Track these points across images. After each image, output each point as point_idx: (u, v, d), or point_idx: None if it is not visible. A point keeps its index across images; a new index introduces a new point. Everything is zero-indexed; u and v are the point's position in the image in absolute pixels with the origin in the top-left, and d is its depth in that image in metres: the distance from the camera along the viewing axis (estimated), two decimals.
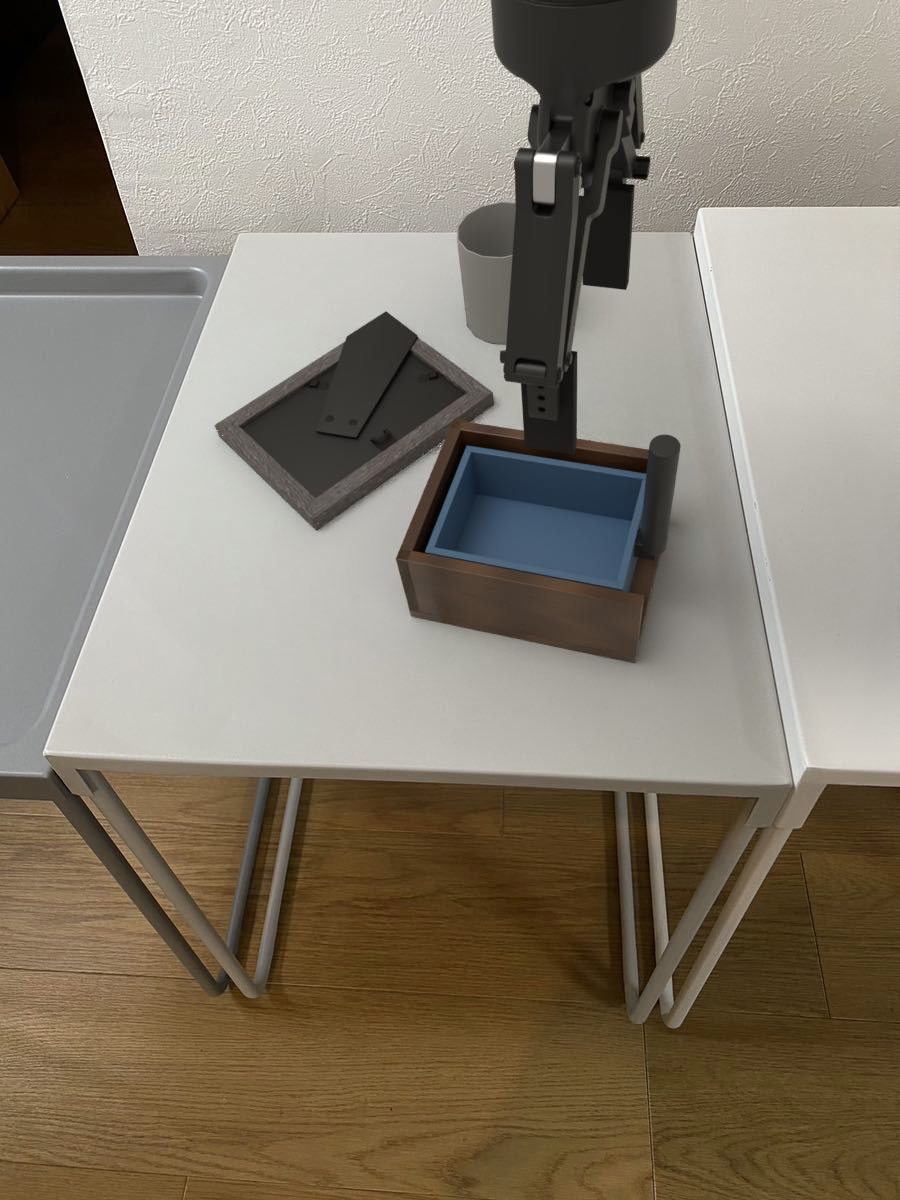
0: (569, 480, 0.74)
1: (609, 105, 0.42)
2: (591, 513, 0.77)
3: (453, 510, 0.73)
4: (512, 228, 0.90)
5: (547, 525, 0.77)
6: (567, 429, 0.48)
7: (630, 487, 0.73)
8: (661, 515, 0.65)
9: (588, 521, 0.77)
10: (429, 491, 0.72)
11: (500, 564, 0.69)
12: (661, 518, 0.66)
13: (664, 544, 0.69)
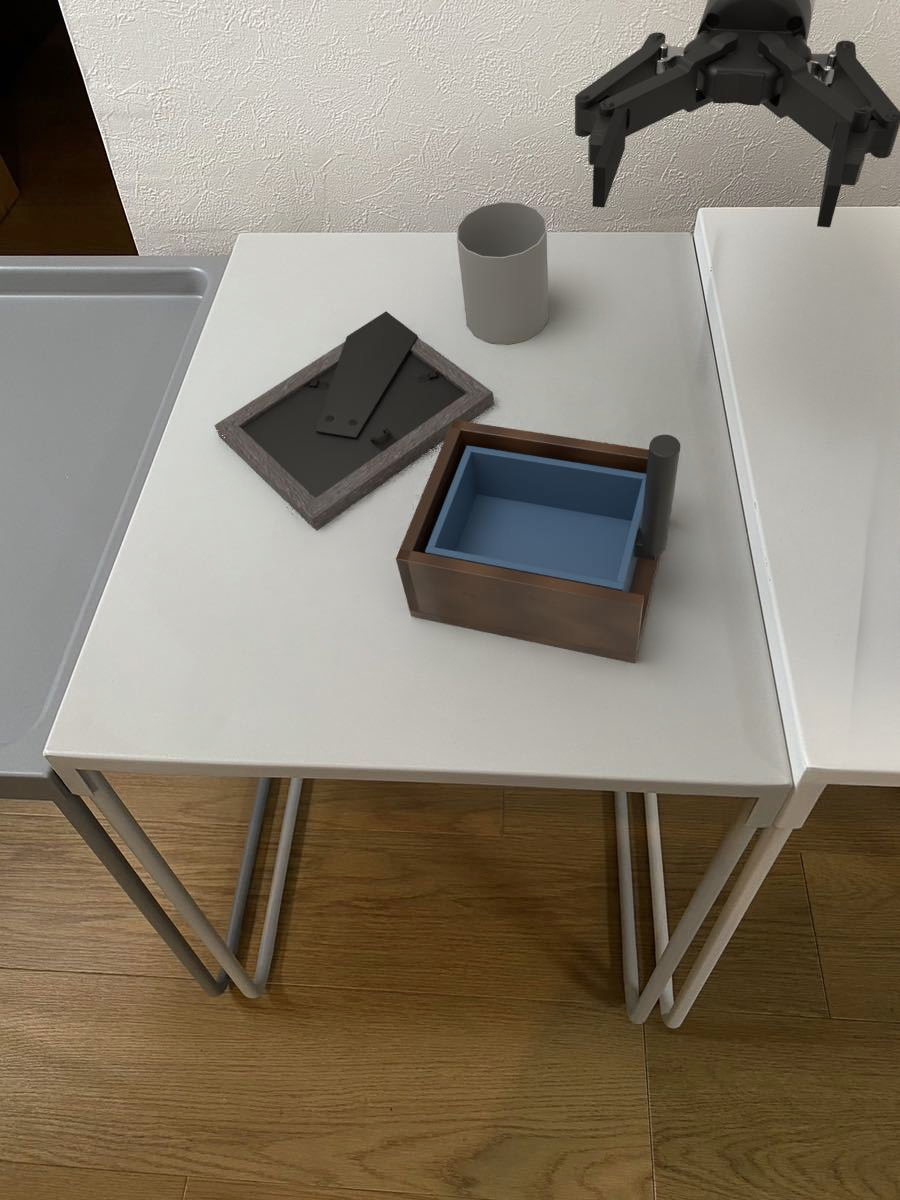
0: (569, 480, 0.74)
1: (753, 51, 0.62)
2: (591, 513, 0.77)
3: (453, 510, 0.73)
4: (512, 228, 0.90)
5: (547, 525, 0.77)
6: None
7: (630, 487, 0.73)
8: (661, 515, 0.65)
9: (588, 521, 0.77)
10: (429, 491, 0.72)
11: (500, 564, 0.69)
12: (661, 518, 0.66)
13: (664, 544, 0.69)
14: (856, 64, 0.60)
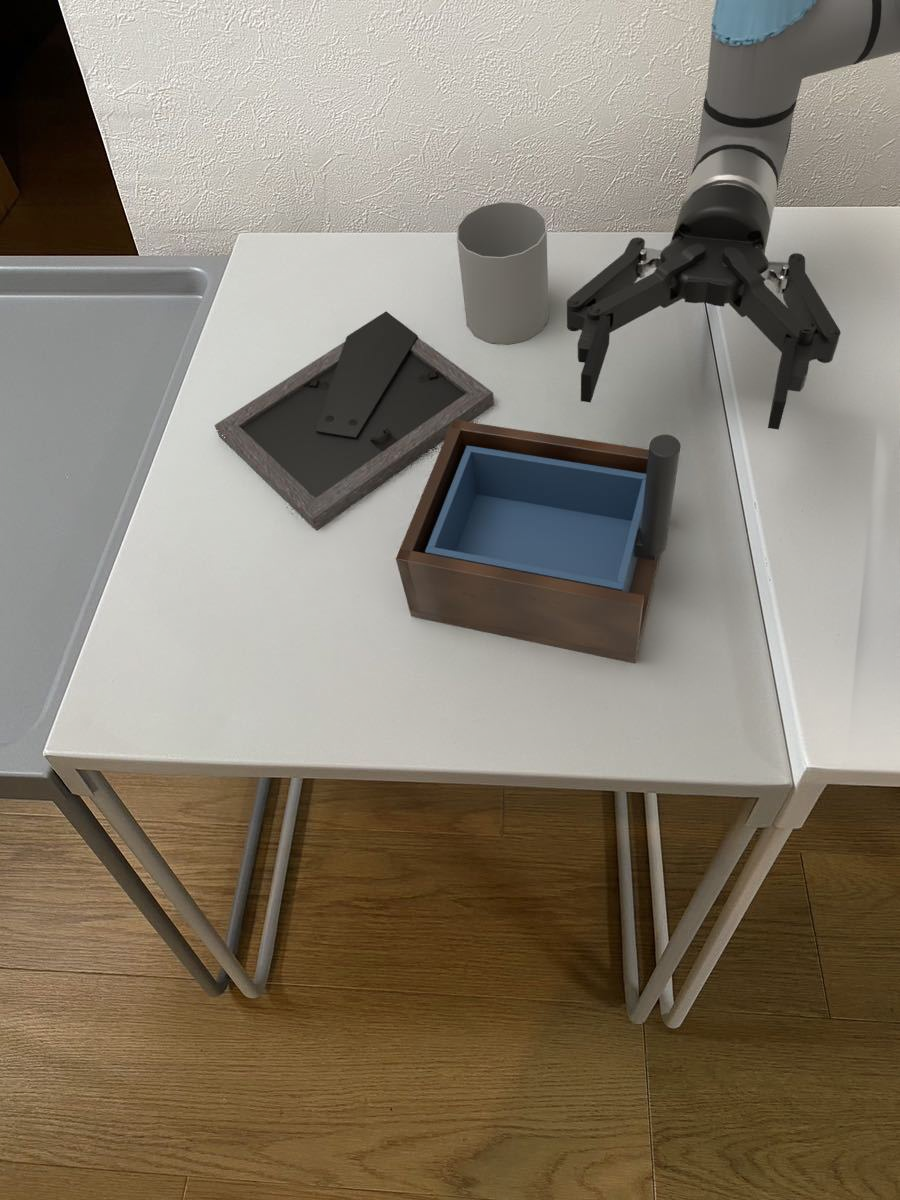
0: (569, 480, 0.74)
1: (719, 260, 0.73)
2: (591, 513, 0.77)
3: (453, 510, 0.73)
4: (512, 228, 0.90)
5: (547, 525, 0.77)
6: None
7: (630, 487, 0.73)
8: (661, 515, 0.65)
9: (588, 521, 0.77)
10: (429, 491, 0.72)
11: (500, 564, 0.69)
12: (661, 518, 0.66)
13: (664, 544, 0.69)
14: (805, 278, 0.71)
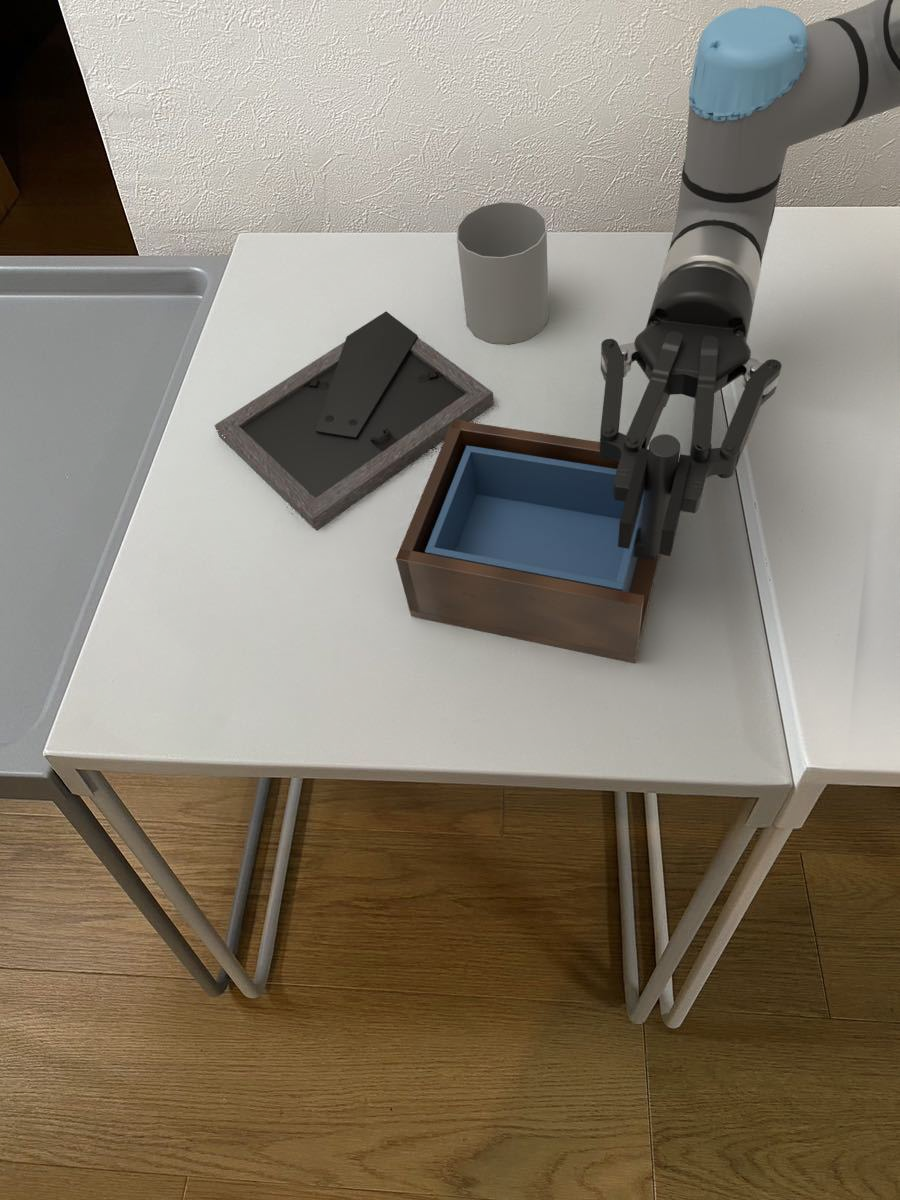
0: (569, 480, 0.74)
1: (699, 345, 0.68)
2: (590, 513, 0.77)
3: (453, 510, 0.73)
4: (512, 228, 0.90)
5: (547, 525, 0.77)
6: None
7: None
8: (661, 514, 0.65)
9: (588, 521, 0.77)
10: (429, 491, 0.72)
11: (500, 564, 0.69)
12: (660, 518, 0.66)
13: None
14: (759, 387, 0.65)
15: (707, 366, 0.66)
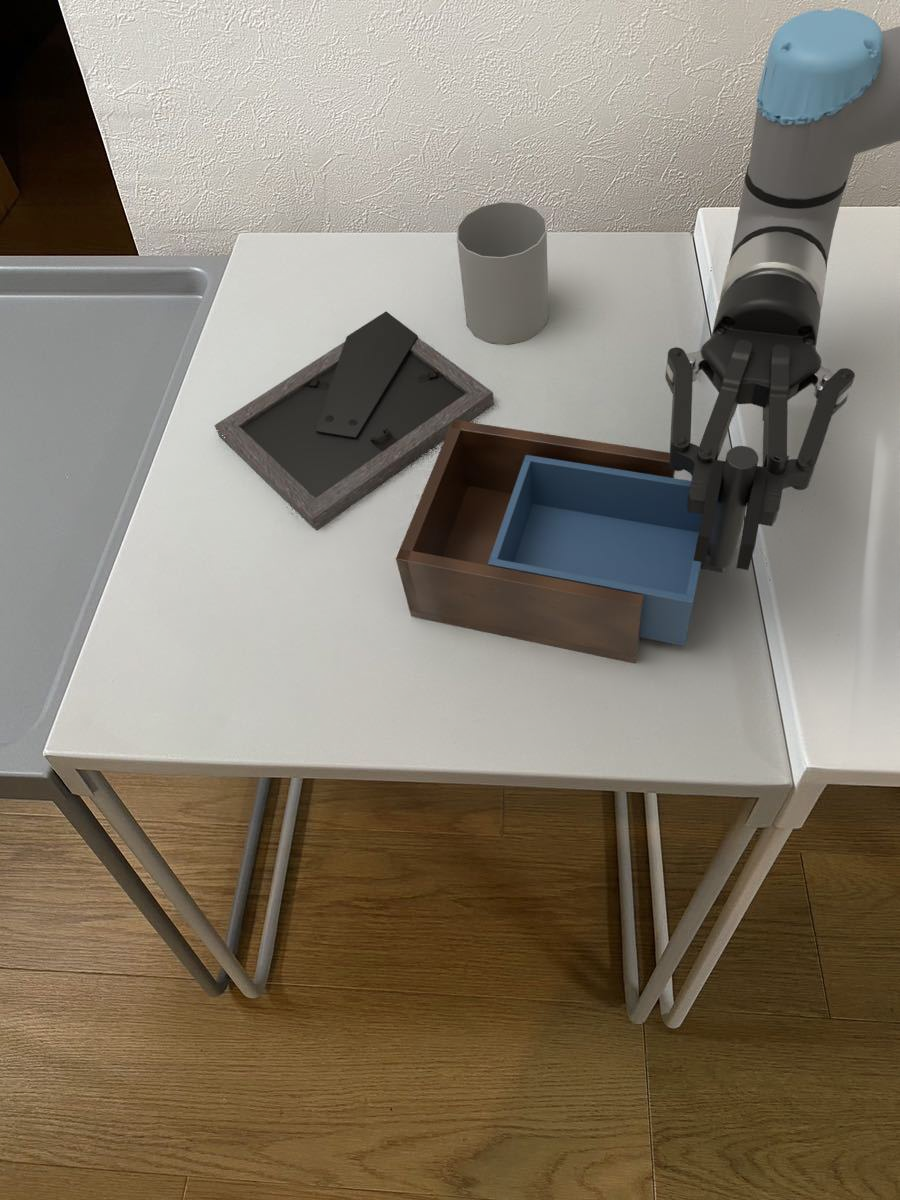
0: (631, 490, 0.73)
1: (768, 354, 0.67)
2: (650, 523, 0.76)
3: (514, 521, 0.72)
4: (512, 228, 0.90)
5: (606, 536, 0.76)
6: (702, 516, 0.60)
7: None
8: (734, 527, 0.64)
9: (648, 531, 0.75)
10: (429, 491, 0.72)
11: (566, 577, 0.67)
12: (732, 530, 0.64)
13: (732, 556, 0.68)
14: (833, 397, 0.64)
15: (779, 375, 0.65)
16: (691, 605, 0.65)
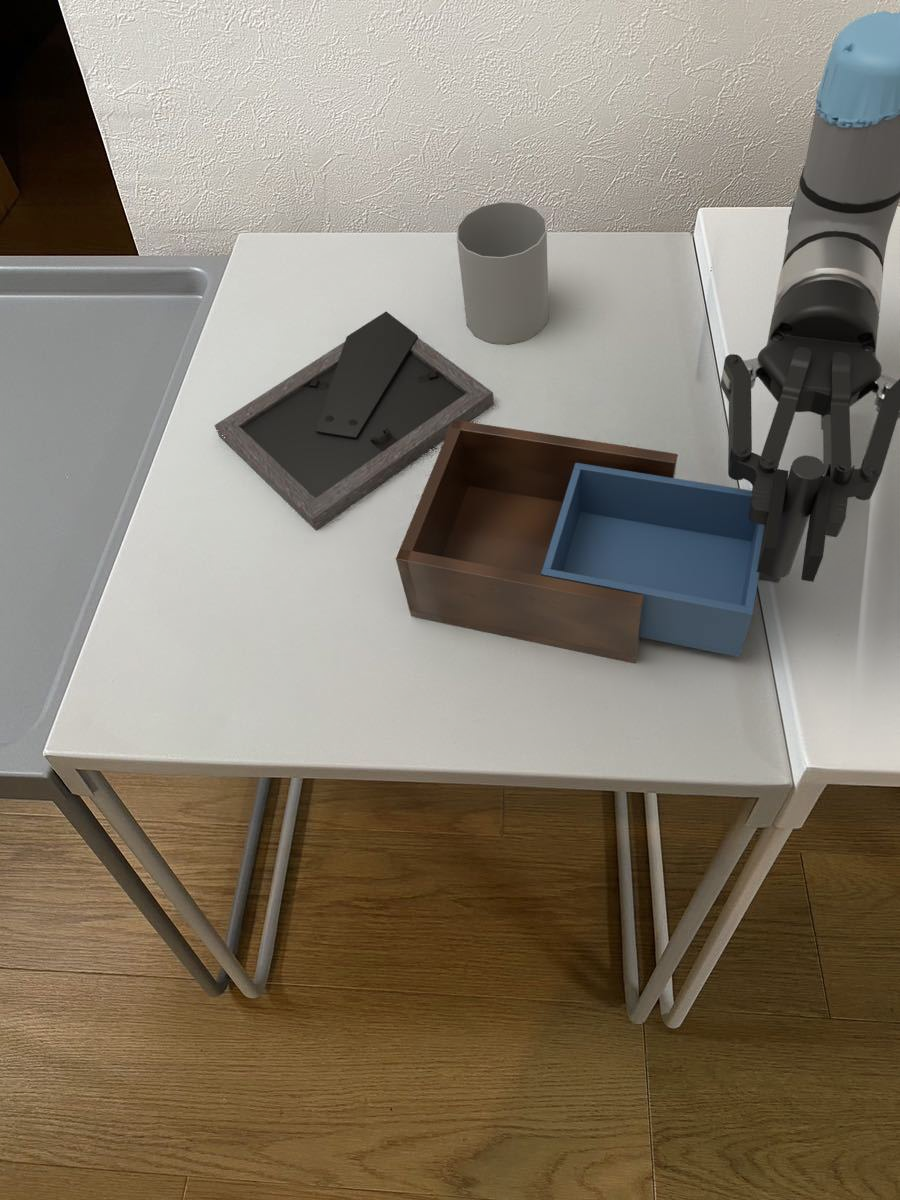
0: (683, 499, 0.72)
1: (828, 361, 0.66)
2: (701, 532, 0.75)
3: (565, 530, 0.71)
4: (512, 228, 0.90)
5: (656, 544, 0.75)
6: (766, 527, 0.59)
7: (748, 506, 0.71)
8: (795, 537, 0.63)
9: (699, 540, 0.74)
10: (429, 491, 0.72)
11: (621, 587, 0.66)
12: (793, 540, 0.63)
13: (790, 566, 0.67)
14: (896, 405, 0.63)
15: (840, 383, 0.64)
16: (750, 616, 0.64)
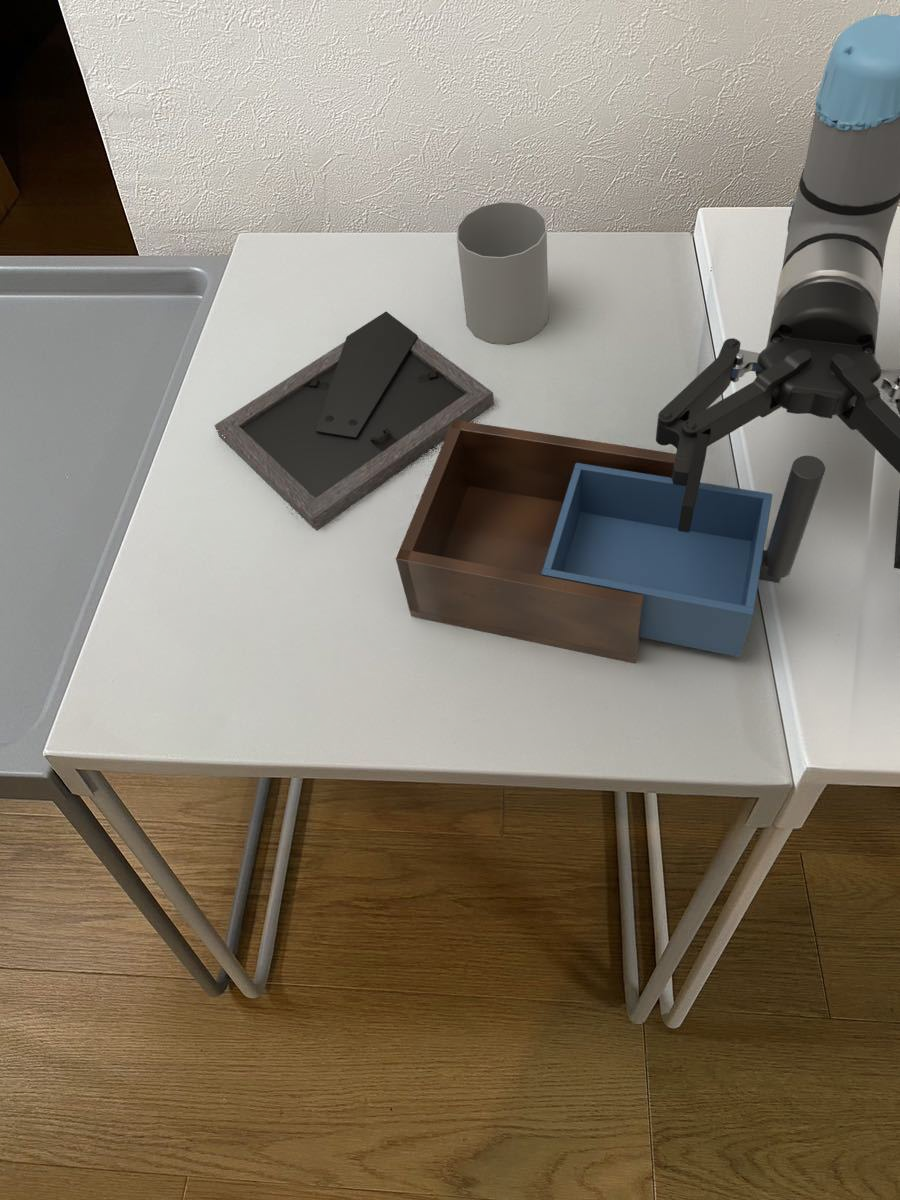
0: None
1: (826, 367, 0.66)
2: (701, 532, 0.75)
3: (565, 530, 0.71)
4: (512, 228, 0.90)
5: (657, 544, 0.75)
6: (686, 487, 0.62)
7: (748, 506, 0.71)
8: (795, 537, 0.63)
9: (699, 540, 0.74)
10: (429, 491, 0.72)
11: (622, 588, 0.66)
12: (794, 540, 0.63)
13: (791, 566, 0.67)
14: None
15: (860, 382, 0.64)
16: (751, 616, 0.64)
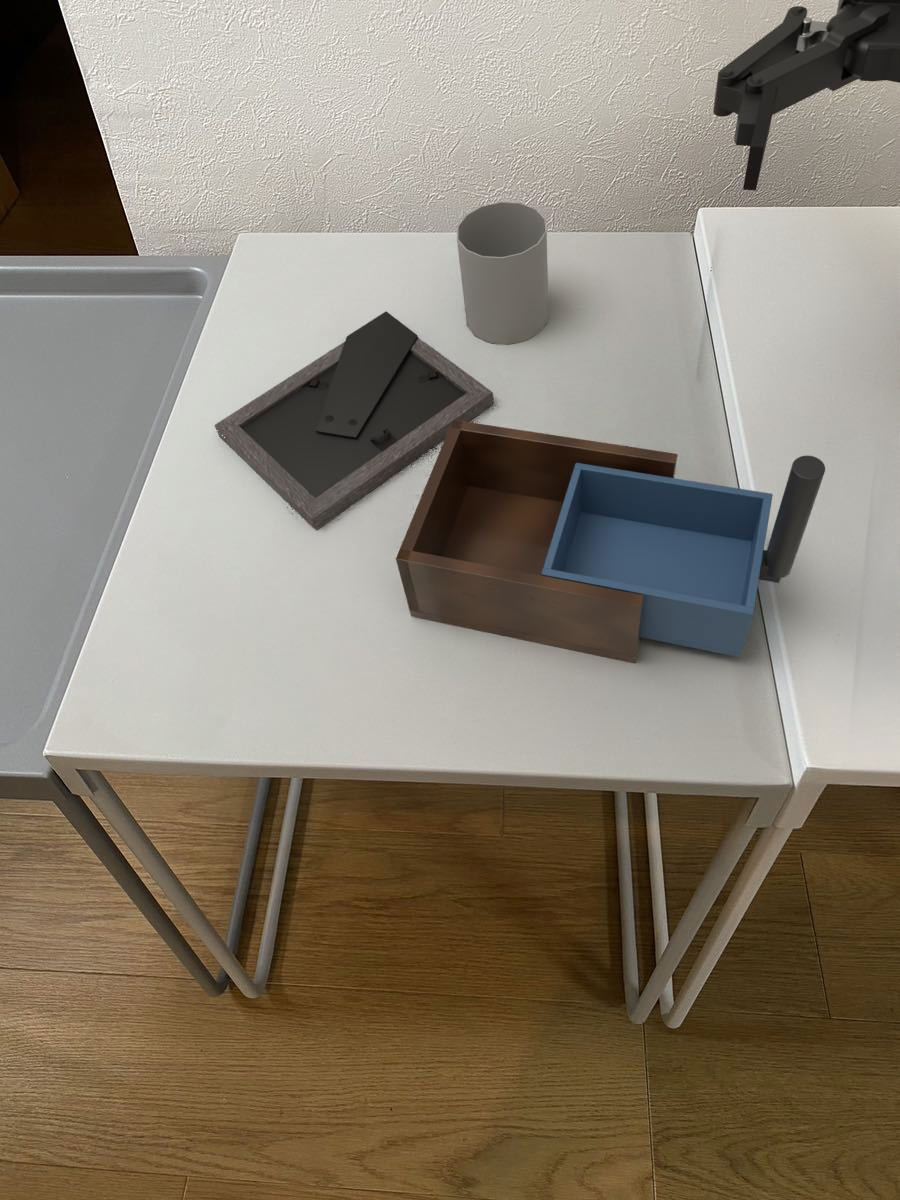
0: (683, 499, 0.72)
1: None
2: (701, 532, 0.75)
3: (565, 530, 0.71)
4: (512, 228, 0.90)
5: (657, 544, 0.75)
6: None
7: (748, 506, 0.71)
8: (795, 537, 0.63)
9: (699, 540, 0.74)
10: (429, 491, 0.72)
11: (622, 588, 0.66)
12: (794, 540, 0.63)
13: (791, 566, 0.67)
14: None
15: None
16: (751, 616, 0.64)
